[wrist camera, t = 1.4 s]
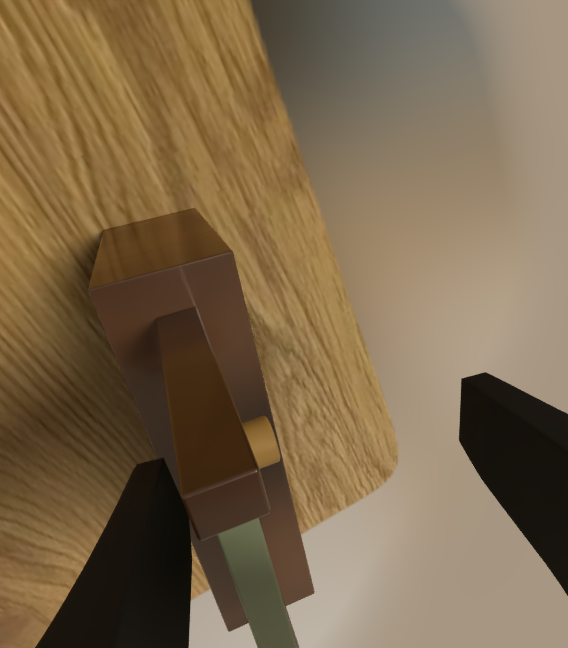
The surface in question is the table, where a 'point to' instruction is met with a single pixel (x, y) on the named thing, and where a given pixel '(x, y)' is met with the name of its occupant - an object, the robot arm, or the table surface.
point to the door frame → (198, 389)
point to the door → (258, 557)
